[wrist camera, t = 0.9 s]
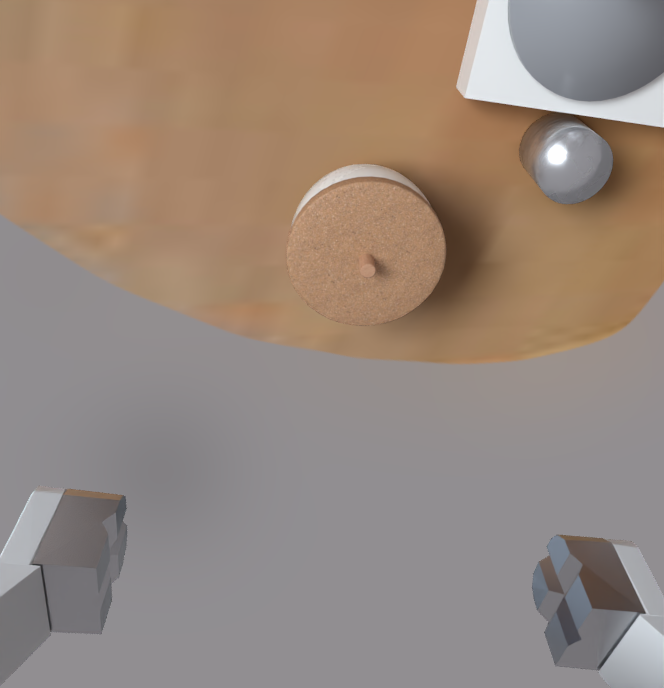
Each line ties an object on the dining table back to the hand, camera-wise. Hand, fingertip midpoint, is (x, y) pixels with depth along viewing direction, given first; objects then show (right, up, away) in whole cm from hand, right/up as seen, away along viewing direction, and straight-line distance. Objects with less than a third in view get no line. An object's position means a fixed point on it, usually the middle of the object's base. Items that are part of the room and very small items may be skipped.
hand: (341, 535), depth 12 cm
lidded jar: (+2, +14, +36) cm, 39 cm away
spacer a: (+16, +18, +34) cm, 41 cm away
